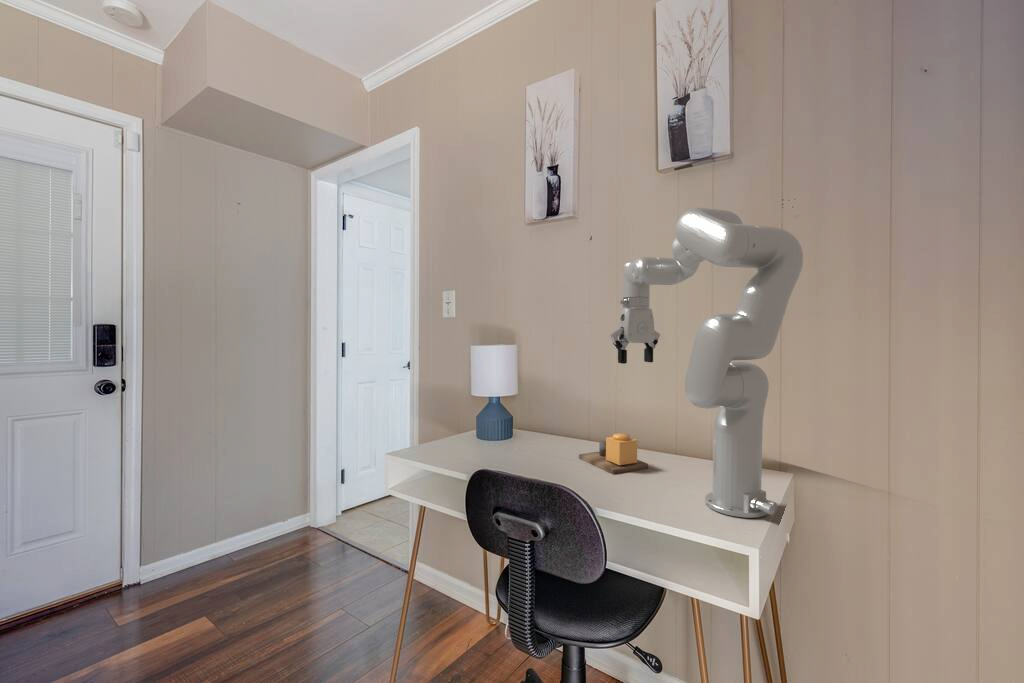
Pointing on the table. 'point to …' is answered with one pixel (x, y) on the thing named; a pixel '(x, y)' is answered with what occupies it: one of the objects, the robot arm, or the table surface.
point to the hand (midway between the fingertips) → (635, 362)
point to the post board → (601, 462)
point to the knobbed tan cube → (621, 449)
